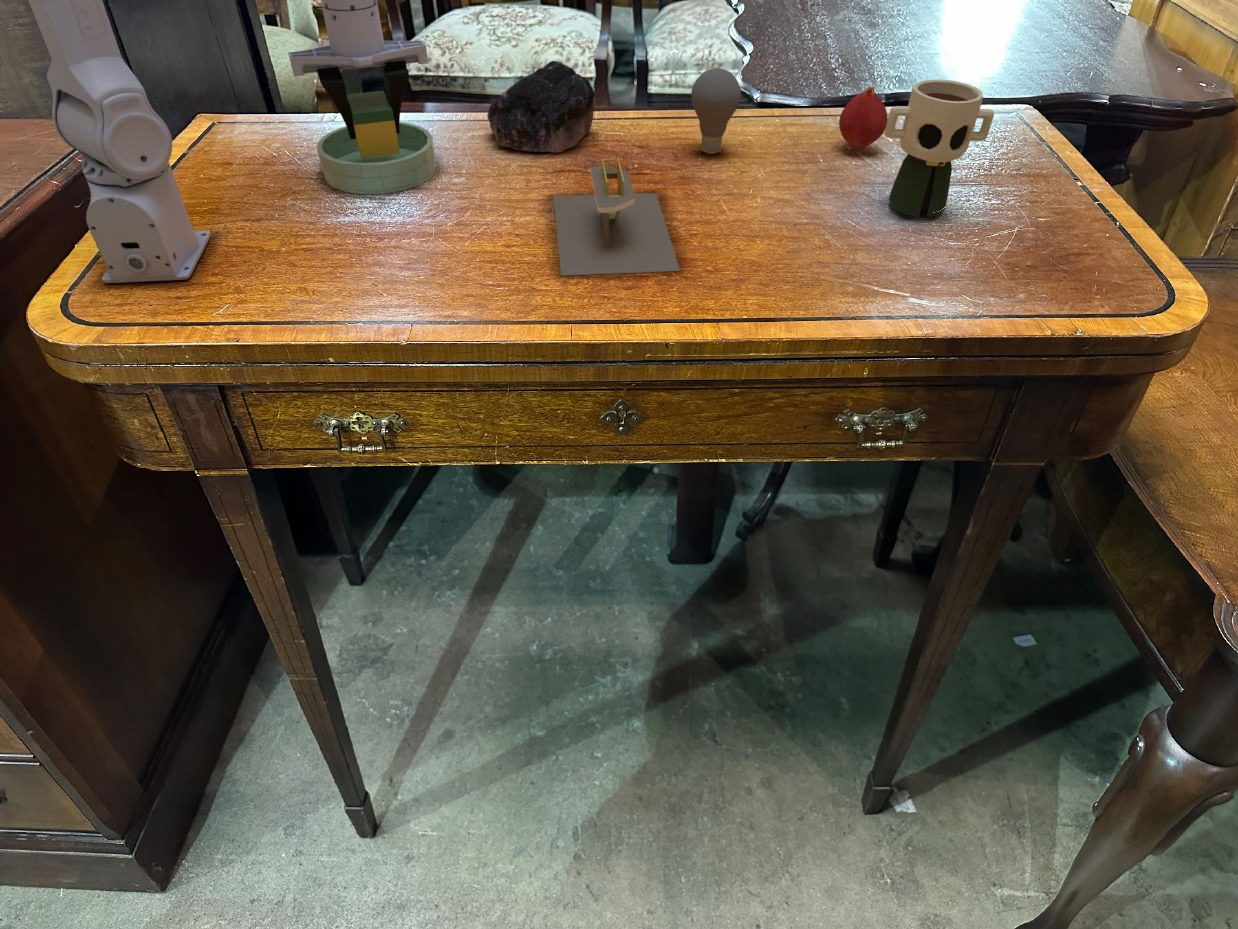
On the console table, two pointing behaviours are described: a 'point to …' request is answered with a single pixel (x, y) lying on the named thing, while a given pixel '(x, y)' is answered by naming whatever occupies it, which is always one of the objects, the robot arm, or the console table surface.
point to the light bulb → (715, 105)
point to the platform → (612, 229)
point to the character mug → (934, 141)
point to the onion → (863, 120)
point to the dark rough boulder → (544, 110)
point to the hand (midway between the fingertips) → (373, 133)
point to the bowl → (377, 162)
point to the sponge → (373, 124)
